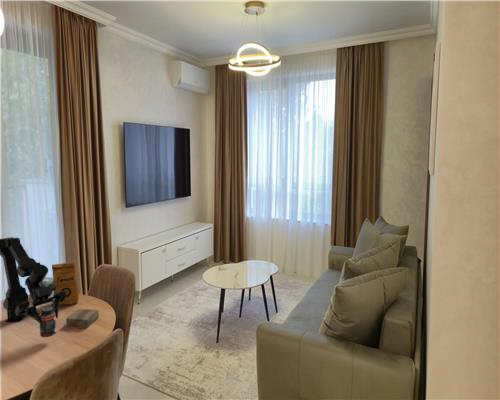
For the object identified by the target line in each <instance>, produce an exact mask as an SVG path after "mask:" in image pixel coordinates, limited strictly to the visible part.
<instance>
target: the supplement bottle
mask: <svg viewBox="0 0 500 400" xmlns="http://www.w3.org/2000/svg"><path fill="white" fill-rule="evenodd" d="M40 313H41V314H39V316H40V318H41V321H42V323H41V324H40V323H39V335H40V337H42V338H50V337H53V336H55V335H56V334H57V318H56V314H55V312H53V308H52V307H51V306H45V307H43V308H42V309H41V312H40Z"/></svg>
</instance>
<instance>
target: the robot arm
mask: <svg viewBox="0 0 500 400" xmlns="http://www.w3.org/2000/svg"><path fill="white" fill-rule="evenodd" d="M0 256H1V258H2V260H3V266H4V269H5V270H4V271H5V276H6V280H7V286H8V288H7V290H6V292H5V299H4V300H3V303H2V305H3V309H4V310H6V313H7V314H6V315H7V316H6V317H7V319H5V322H7V323H8V322H10V323H13V322H21V321H22V320H23V319H24V318H26V317H27V316H29V317H31V318H32V319H34V320H35V321H36V322H37V323H38V324H39V325H40V324H41V323H42V321H41V318H40V314H39V312H38V311H37V307H39V306H42V305H45V304H48V303H49V304H50V303H51V305H50V307H52V308H53V312H55V314H56V319H58V318H59V306H58V304H59V303H60V302H63V301H64V300H65V298H66V297H67V293H66V292H65V291H61V292H57V293H55V295H54V296H53V297H50V298H49V296H50V295H51V293H53V292H52V291H54V290H56V285H55V283H51V284H49V286H48V287H46V286H45V285H43V282H42V281H43V280H44V278H45V277H47V275H48V272H49V268H48V267H47V265H45V264H41V262H37V261H36V260H35V258H31V257H30V256H29V254H28V253H27V251H26V250H25V248H24V247H23V245H22V243H21V239H20V237H13V236H11V237H5V238H4V237H3V238H0ZM19 276H20V277H21V278H26V277H27V278H26V279H25V281H24V285H25V286H26V288H27V289H26V288H25V287H24V286H22V285H21V283H20V277H19ZM27 291H28V292H27ZM28 293H29V294H28ZM30 297H31V298H32V299H31V300H32V302H30V301H29V298H30Z"/></svg>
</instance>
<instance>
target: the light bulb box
mask: <svg viewBox="0 0 500 400" xmlns="http://www.w3.org/2000/svg"><path fill="white" fill-rule="evenodd" d="M42 282H43V285H45V286H46V287H48V286H49V284H51V283H53V276H45V278H44V280H43V281H42ZM52 292H53V293H51V295H50V296H49V298H50V297H53V294H54V291H52ZM29 298H30V299H31V300H32V298H31V297H30V296H29Z"/></svg>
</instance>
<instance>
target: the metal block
mask: <svg viewBox="0 0 500 400" xmlns="http://www.w3.org/2000/svg"><path fill="white" fill-rule="evenodd" d="M99 315H100V314H99V309H85V308H84V309H83V308H79V309H77V310H76V311H74V312H73V313H72V314H70V315H69V316H67V317H66V320H65V323H66V328H78V329H79V328H83V329H88V328H89V327H91V325H93V324H94V323H95V322H96V321H97V320H98V319H99V317H100V316H99Z"/></svg>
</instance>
